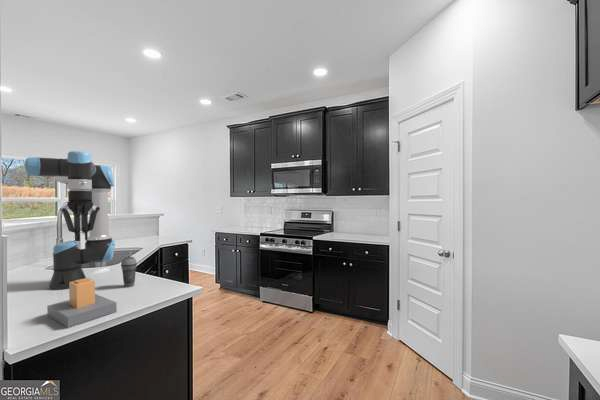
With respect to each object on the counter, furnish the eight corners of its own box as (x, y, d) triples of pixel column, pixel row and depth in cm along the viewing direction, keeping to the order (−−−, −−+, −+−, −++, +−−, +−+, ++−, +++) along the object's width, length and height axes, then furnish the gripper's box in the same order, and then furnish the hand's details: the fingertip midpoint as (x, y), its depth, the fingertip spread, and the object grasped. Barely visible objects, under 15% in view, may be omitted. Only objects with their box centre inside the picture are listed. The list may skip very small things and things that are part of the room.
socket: (47, 315, 110) (47, 305, 110) (94, 302, 123) (93, 293, 123) (68, 328, 99) (67, 317, 99) (116, 311, 113) (116, 302, 113)
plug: (69, 310, 111) (69, 280, 110) (87, 305, 116) (86, 277, 115) (77, 314, 107) (76, 283, 107) (95, 309, 112) (94, 279, 112)
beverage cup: (125, 283, 149) (125, 247, 149) (139, 283, 150) (139, 246, 149) (118, 288, 142) (117, 249, 141) (132, 287, 142) (132, 249, 142)
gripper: (63, 190, 104) (65, 252, 104) (103, 190, 115) (104, 246, 115) (56, 190, 107) (57, 250, 108) (94, 190, 119) (95, 245, 119)
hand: (81, 248), depth 112 cm, fingers closed
